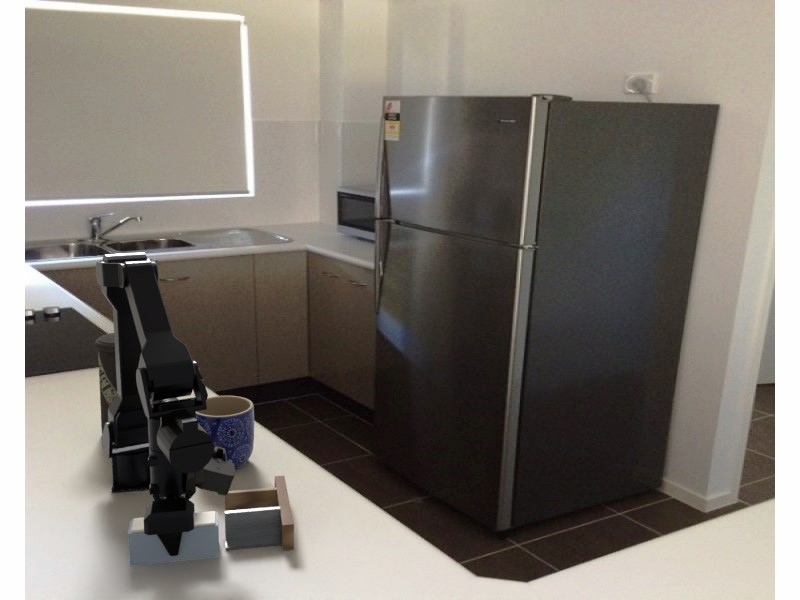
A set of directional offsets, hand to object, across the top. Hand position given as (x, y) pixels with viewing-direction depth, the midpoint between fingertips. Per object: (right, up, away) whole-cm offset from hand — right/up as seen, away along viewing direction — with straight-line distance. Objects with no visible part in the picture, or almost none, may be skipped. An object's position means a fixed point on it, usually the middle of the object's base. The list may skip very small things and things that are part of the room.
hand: (175, 547), depth 108 cm
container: (-22, +9, +42) cm, 49 cm away
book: (0, -1, 0) cm, 1 cm away
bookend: (+10, -1, +4) cm, 11 cm away
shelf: (+9, +1, +8) cm, 13 cm away
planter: (0, +5, +29) cm, 30 cm away
